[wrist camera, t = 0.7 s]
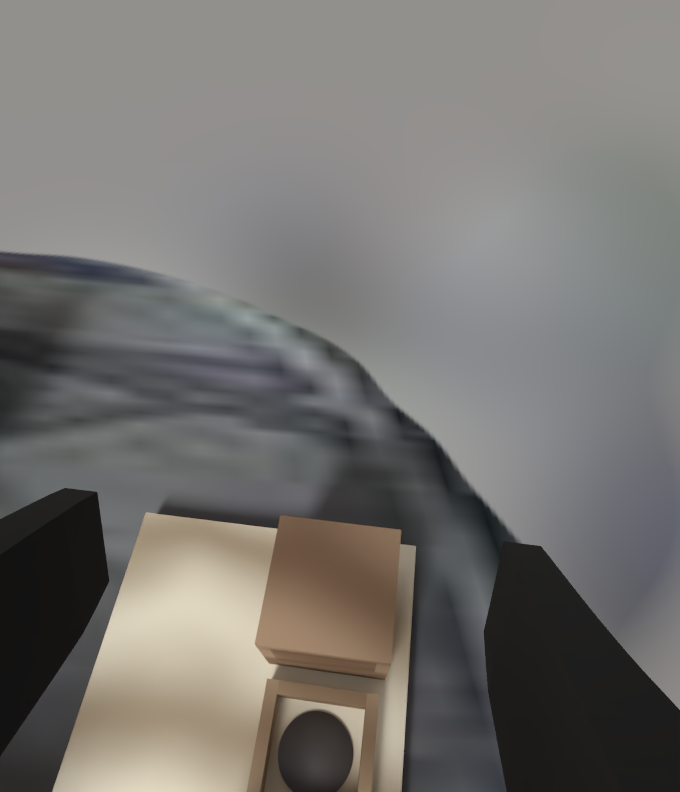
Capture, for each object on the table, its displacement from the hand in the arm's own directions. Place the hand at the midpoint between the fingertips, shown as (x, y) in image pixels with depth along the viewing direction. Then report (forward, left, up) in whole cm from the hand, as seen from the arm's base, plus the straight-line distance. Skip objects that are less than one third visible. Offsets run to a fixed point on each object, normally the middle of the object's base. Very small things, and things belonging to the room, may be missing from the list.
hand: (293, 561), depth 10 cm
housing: (+3, 0, -17) cm, 17 cm away
